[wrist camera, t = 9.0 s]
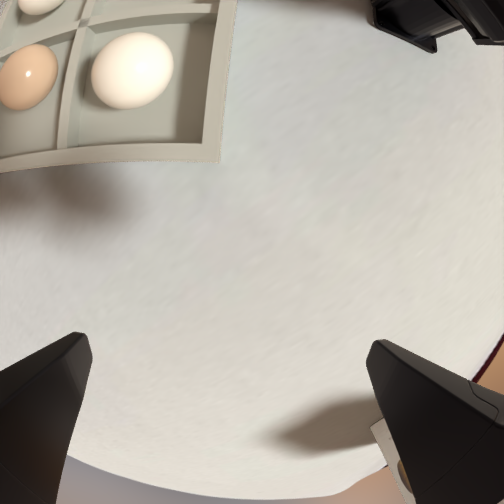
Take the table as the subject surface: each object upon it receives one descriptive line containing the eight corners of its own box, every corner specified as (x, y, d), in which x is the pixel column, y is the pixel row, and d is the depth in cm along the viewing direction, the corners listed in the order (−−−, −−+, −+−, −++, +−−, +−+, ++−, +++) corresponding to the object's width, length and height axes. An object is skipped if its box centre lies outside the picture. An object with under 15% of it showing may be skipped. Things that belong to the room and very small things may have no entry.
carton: (247, -57, 11) (251, -77, 8) (219, 162, 17) (219, 162, 14) (37, -19, 8) (23, -30, 5) (-9, 174, 15) (-31, 179, 12)
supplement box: (424, 384, 28) (487, 472, 12) (436, 404, 31) (485, 476, 15) (366, 428, 29) (412, 523, 13) (387, 441, 32) (426, 517, 16)
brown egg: (41, 68, 13) (46, 23, 9) (66, 99, 14) (74, 53, 10) (-8, 99, 10) (-14, 55, 6) (14, 135, 12) (6, 90, 8)
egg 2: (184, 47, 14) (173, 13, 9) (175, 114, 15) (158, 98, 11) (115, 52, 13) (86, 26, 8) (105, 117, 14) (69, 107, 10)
